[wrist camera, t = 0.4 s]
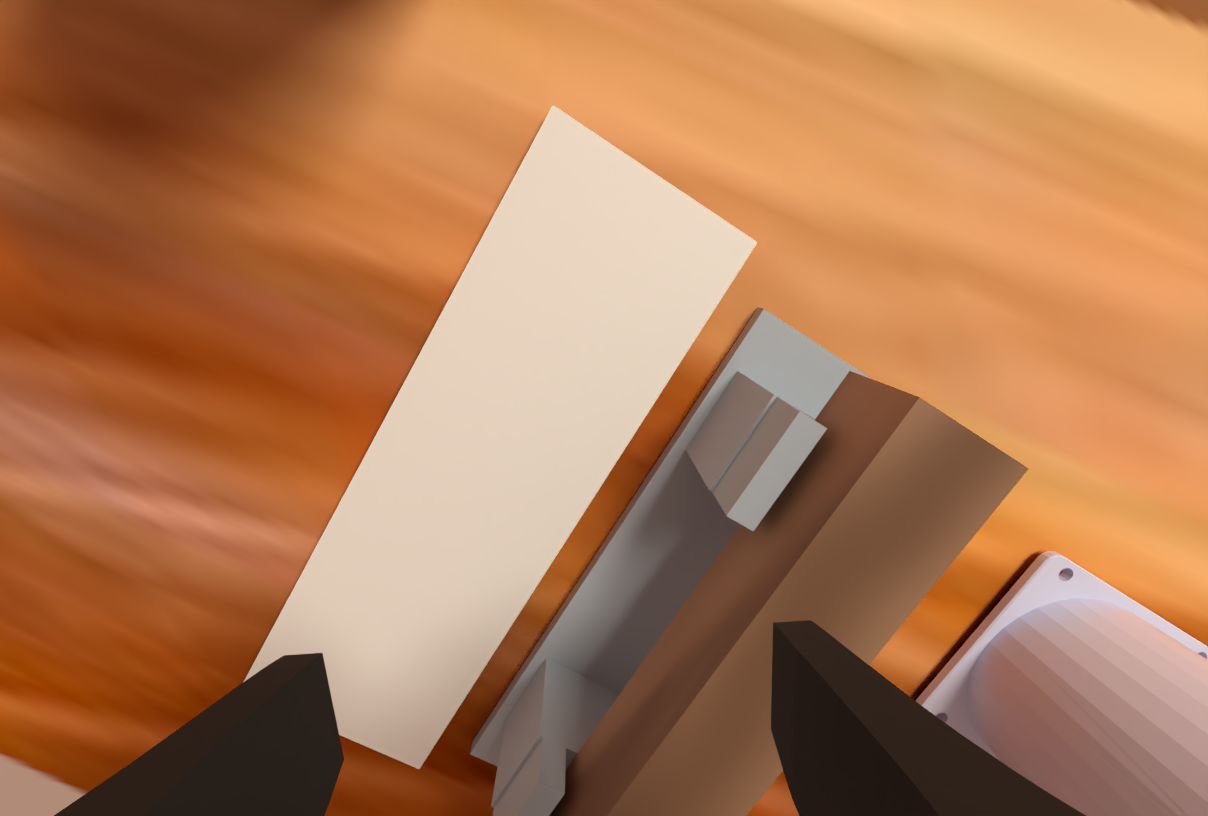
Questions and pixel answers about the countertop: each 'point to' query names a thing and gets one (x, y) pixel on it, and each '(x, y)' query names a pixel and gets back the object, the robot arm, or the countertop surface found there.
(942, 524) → the rail
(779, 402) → the rack
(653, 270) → the mat
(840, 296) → the countertop surface
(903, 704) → the robot arm
